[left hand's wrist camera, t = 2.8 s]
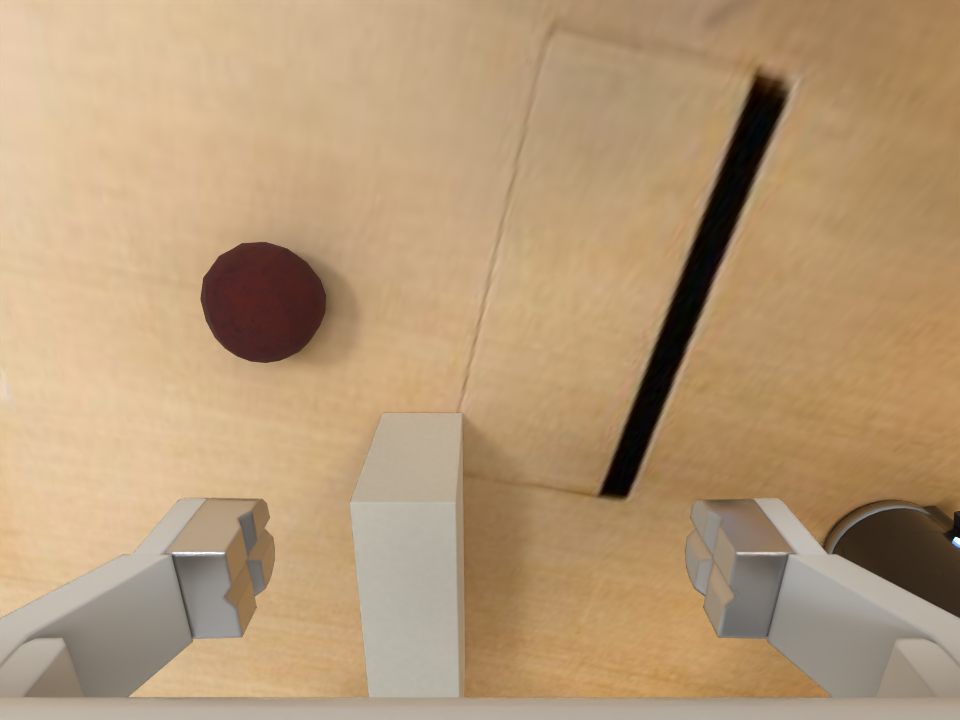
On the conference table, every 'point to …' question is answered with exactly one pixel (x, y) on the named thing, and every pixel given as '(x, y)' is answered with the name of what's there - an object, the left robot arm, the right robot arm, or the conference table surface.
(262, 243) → the dark red ball
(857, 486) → the conference table surface
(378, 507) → the box
